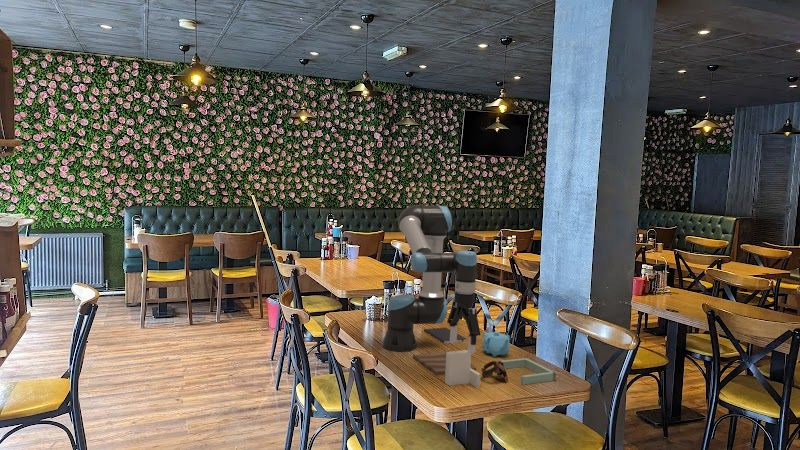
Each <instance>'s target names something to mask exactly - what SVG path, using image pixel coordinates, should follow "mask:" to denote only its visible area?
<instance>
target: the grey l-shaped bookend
mask: <svg viewBox="0 0 800 450" xmlns="http://www.w3.org/2000/svg"><path fill="white" fill-rule="evenodd" d="M445 352H446V371H445V374H444V384H446V385H447V386H448V385H450V386H459V385H465V384H470V385H472V386H473V387H475V388H480V387H481V377H482V373H479V372H478V371H477V370H473V369H471V368H470V364H471V363H472V362H471V359H472V353H470V354H469V353H468V349H464V350H452V351H450V352H448V351H445ZM471 365H472V364H471Z"/></svg>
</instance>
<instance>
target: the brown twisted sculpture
mask: <svg viewBox="0 0 800 450" xmlns="http://www.w3.org/2000/svg"><path fill="white" fill-rule="evenodd" d="M497 361H498V362H497ZM501 361H502V360H492V361H489V362H487V363H486V364H484V365H483V367H482V368H481V370H480V371H481V372H482V373H481V377H482V378H484V379H485V378H488V377H490V378H493V376H494V375H493V374H494V373H495V374H496V375H498V376H502V379H504V383H505V384H507V383H508V382H509V378H508V377H509V376H508V374H507V370H506V369H505V368H504V364H503V363H502V362H501ZM492 366H493V367H492ZM488 368H489V369H488Z"/></svg>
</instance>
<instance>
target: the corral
mask: <svg viewBox="0 0 800 450" xmlns="http://www.w3.org/2000/svg"><path fill="white" fill-rule="evenodd" d="M496 361H497V362H498V361H499V360H496ZM500 361H501V362H502V363H503V364H504V368H505V370H506V369H517V368H524V367H525V368H527V369H528V370H531V371H533V372H535V373H533V374H525V375H521V376H520V384H521V385H524V386H525V385H532V384H538V383H546V382H554V381H556V379H557V372H555V371H553V370H552V369H549V368H547V367H545V366H543V365H542V364H540V363H537V362H536V361H533V360H531V359H530V358H527V357H525V358H524V357H523V358H516V359H507V360H500Z"/></svg>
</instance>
